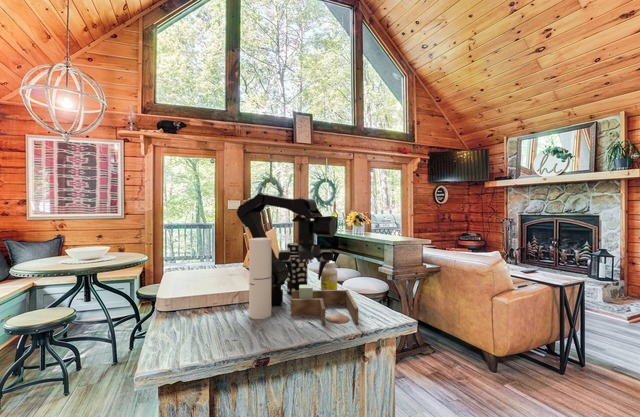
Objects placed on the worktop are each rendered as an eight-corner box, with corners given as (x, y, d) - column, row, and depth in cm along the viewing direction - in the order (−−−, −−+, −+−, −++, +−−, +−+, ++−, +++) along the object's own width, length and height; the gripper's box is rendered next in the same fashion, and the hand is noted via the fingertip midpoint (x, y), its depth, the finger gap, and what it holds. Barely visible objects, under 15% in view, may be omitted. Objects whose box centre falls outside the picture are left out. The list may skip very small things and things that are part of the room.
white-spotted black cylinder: (283, 294, 127) (284, 244, 127) (291, 289, 135) (291, 242, 135) (303, 296, 125) (303, 245, 124) (310, 290, 132) (310, 243, 132)
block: (299, 311, 107) (299, 288, 106) (299, 307, 111) (299, 284, 111) (312, 311, 107) (312, 287, 107) (311, 307, 111) (312, 284, 111)
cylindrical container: (266, 319, 99) (266, 240, 98) (245, 318, 100) (245, 239, 100) (274, 312, 106) (274, 238, 105) (254, 310, 107) (254, 237, 107)
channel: (290, 326, 94) (290, 309, 94) (291, 304, 114) (291, 290, 114) (358, 324, 95) (358, 308, 95) (347, 303, 116) (347, 289, 115)
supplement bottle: (318, 292, 130) (318, 261, 130) (332, 290, 133) (333, 260, 133) (325, 296, 124) (325, 264, 124) (340, 294, 127) (340, 262, 127)
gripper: (277, 237, 100) (277, 286, 100) (335, 237, 101) (335, 285, 102) (279, 234, 111) (279, 278, 111) (331, 234, 112) (331, 277, 113)
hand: (305, 280), depth 109 cm, fingers open, 9 cm apart
